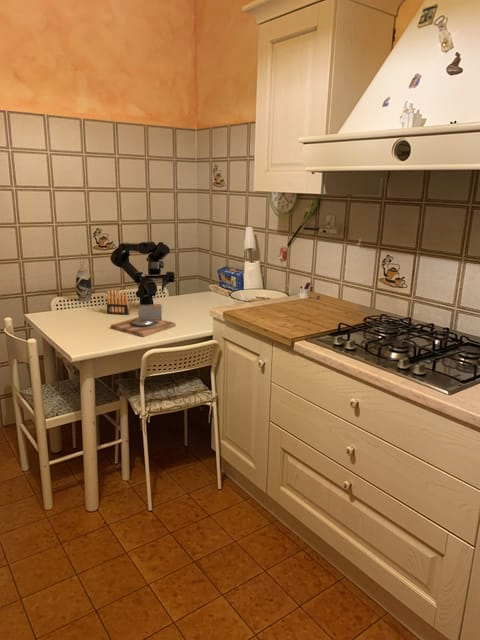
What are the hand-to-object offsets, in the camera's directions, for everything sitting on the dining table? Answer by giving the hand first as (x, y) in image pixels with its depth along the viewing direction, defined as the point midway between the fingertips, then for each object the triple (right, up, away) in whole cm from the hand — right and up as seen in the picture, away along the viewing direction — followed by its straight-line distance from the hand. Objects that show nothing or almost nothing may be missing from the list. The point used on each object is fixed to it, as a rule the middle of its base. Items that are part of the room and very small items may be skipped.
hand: (155, 292), depth 229 cm
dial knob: (-2, -14, -11) cm, 18 cm away
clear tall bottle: (-44, -2, +34) cm, 56 cm away
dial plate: (-3, -16, -11) cm, 20 cm away
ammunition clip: (-19, -10, +9) cm, 24 cm away
